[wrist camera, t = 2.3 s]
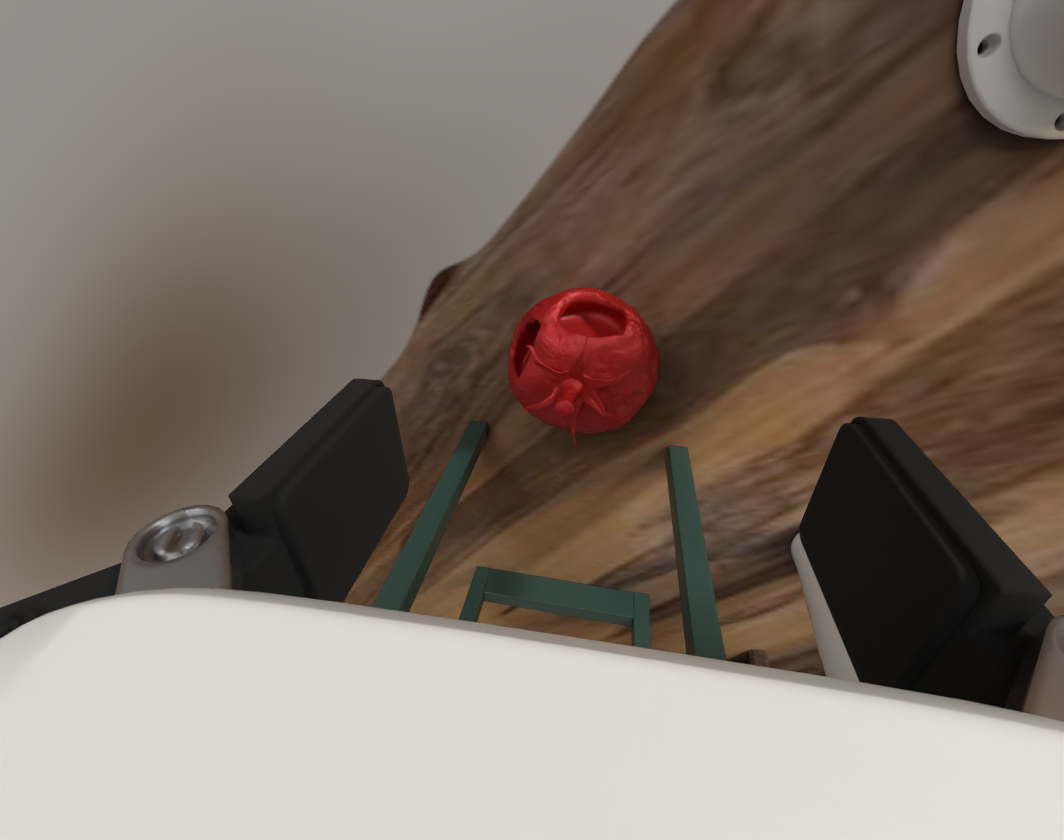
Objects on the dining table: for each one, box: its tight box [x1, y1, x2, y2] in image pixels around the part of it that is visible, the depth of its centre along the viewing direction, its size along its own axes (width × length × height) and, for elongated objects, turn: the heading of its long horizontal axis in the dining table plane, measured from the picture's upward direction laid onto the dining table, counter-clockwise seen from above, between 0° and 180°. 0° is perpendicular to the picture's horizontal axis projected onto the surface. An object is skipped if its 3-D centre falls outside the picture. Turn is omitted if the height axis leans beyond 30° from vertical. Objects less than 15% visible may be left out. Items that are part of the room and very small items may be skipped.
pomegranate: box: [508, 288, 660, 449], centre depth 30 cm, size 10×10×9 cm
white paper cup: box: [791, 533, 859, 682], centre depth 34 cm, size 7×7×15 cm
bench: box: [372, 421, 726, 661], centre depth 35 cm, size 20×18×22 cm
